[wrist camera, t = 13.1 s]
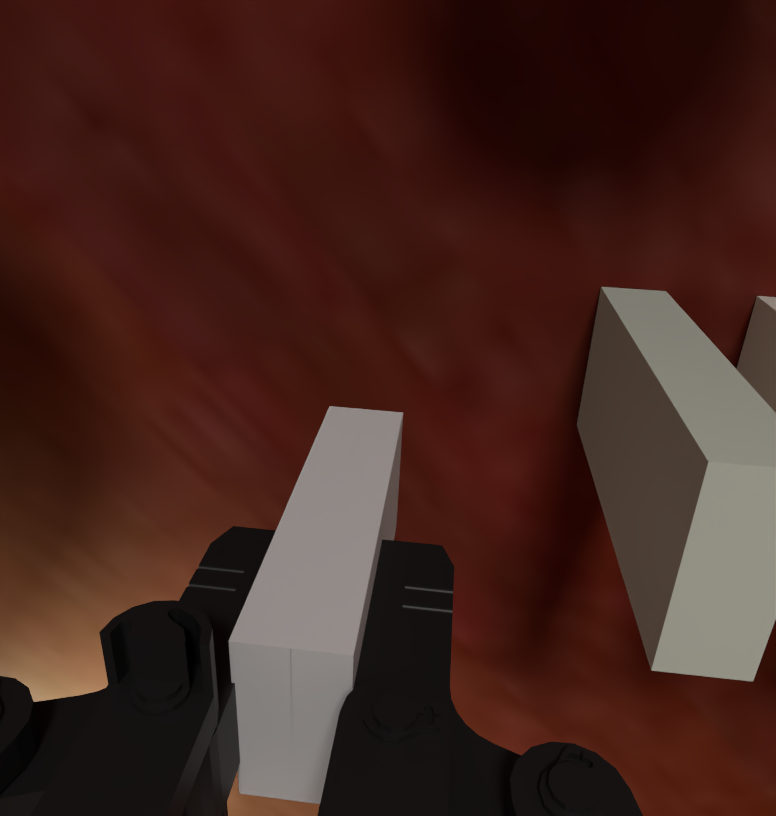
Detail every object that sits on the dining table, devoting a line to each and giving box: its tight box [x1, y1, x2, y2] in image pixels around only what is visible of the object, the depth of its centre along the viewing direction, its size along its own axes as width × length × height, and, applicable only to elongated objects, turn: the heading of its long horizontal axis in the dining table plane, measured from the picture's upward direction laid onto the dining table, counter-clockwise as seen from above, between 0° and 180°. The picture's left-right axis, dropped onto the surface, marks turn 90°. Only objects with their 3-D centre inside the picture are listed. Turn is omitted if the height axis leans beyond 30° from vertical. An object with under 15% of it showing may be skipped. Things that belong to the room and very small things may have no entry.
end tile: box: [577, 287, 776, 681], centre depth 16 cm, size 2×4×10 cm, turn 178°
